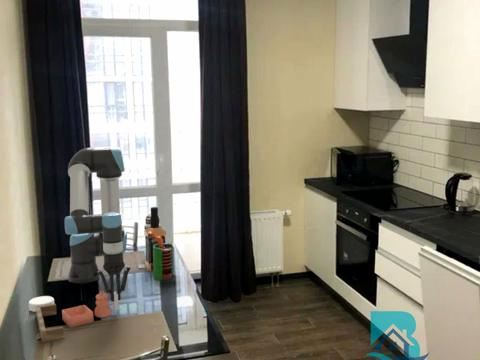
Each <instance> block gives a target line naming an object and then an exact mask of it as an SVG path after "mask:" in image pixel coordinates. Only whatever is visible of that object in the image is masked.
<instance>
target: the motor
mask: <svg viewBox="0 0 480 360" xmlns="http://www.w3.org/2000/svg"><path fill="white" fill-rule="evenodd" d="M155 241H158V242H159V244H155V245H154V246H153V267H154V271H153V279H154V280H157V281H163V280H169V279H171V278H173V273H174V271H173V269H174V265H173V258H174V257H173V256H174V255H173V244H172V243H170V242H169V243H167V242H165V243H163V240H162V237H160V236H157V237H155Z"/></svg>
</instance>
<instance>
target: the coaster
mask: <svg viewBox="0 0 480 360" xmlns="http://www.w3.org/2000/svg"><path fill="white" fill-rule="evenodd" d="M50 304H55V299H54V297H52V296H50V295H42V296H36V297H33V298H32V299H30V300H29V301H28V310H29V311H30V312H34V313H36V307H37V306H44V305H50Z"/></svg>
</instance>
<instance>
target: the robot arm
mask: <svg viewBox="0 0 480 360" xmlns="http://www.w3.org/2000/svg"><path fill="white" fill-rule="evenodd" d="M123 158H124V157H123V152H122V149H121V148H120V147H118V146H117V147H116V146H115V147H114V146H102V147H101V146H100V147H86V148H82V149H80V150H79V151H78V152H76V153H75V154H74V155H73V156H72V158H71V159H70V161H69V163H68V167H67V173H68V174H67V175H68V176H69V177H70V183H69V185H70V186H69V187H70V189H69V193H70V195H69V196H70V197H69V203H70V204H69V215H68V216H65V218H64V230H65V231H64V232H65V234H66V235H70V237H69V246H70V249H69V250H70V267H69V271H68V274H67V280H68V282H69V283H73V284H89V283H93V282H96V281H99V280H100V279H101V281H102V284H103V287H104V290H105V291H104V292H105V293H106V294H109V295H110V301H111V302H112V304H113V309H114V310H120V309H119V301H121V299H122V298H121V297H122V296H121V293H122V292H124V291H125V290H126V287H127V286H126V285H127V282H128V281H127V280H128V277H129V272H131V271H130V270H131V267H130V266H129V265H126V263H125V262H124V254H125V253H126V249H127V244H128V240H127V239H128V232H127V231H126V230H124V229H125V228H124V227H123V226H122V224H123V218H122V215H121V206H120V203H121V201H120V182H119V181H120V178H121V177H122V174H123V173H125V170H126V169H125V164H124V159H123ZM94 173H95V174H96V175H95V176H96V178H98V180H99V185H100V189H99V190H100V206H101V207H100V209H101V210H100V211H101V214H90V210H89V207H90V205H89V203H90V202H89V177H90V175H91V174H94ZM98 257H103V266H102V268H101V269H100V268H99V265H98V263H97V258H98ZM121 272H123V273H122V278H121ZM105 273H106V274H108V277H109V278H108V280H109V285H108V282H107V279H106V276H105ZM114 277H115V283H114ZM114 284H115V285H114Z"/></svg>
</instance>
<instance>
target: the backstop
mask: <svg viewBox="0 0 480 360" xmlns="http://www.w3.org/2000/svg"><path fill="white" fill-rule="evenodd" d="M35 314H36V319H37V325H38V330H39V335H40V338H41V343H46V342H52V341H56V340H63V339H65V333H64V332H65V330H64V329H65V328H64V326H63V325H62V326H57V327H51V328H47V329H46V325H45V321H44V317H48V316H49V317H50V316H55V315H57V304H56V303H54V304H50V305H44V306H37V307H36V312H35Z"/></svg>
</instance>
